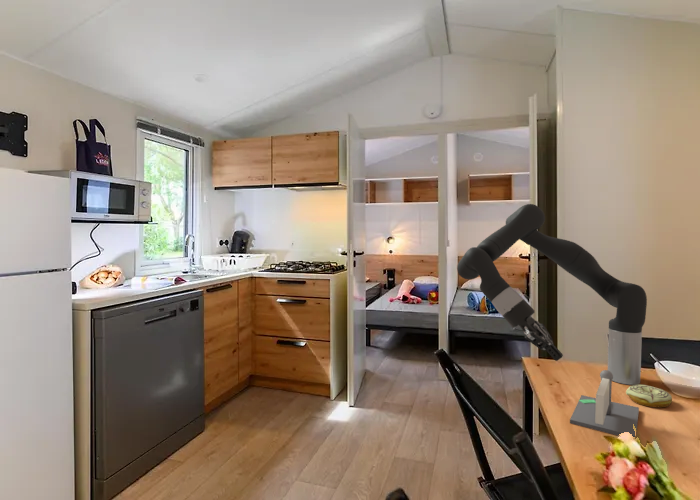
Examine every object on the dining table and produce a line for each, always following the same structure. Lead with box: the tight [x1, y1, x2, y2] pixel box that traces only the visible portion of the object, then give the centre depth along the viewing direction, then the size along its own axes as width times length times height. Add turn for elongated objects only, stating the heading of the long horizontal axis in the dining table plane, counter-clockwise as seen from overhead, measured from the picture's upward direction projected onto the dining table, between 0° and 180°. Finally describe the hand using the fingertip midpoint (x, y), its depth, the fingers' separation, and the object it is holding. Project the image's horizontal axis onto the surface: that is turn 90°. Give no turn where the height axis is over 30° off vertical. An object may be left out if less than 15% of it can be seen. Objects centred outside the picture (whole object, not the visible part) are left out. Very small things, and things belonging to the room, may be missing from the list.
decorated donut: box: [625, 384, 673, 409], centre depth 117 cm, size 10×11×4 cm
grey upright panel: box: [595, 369, 613, 425], centre depth 104 cm, size 24×3×12 cm, turn 142°
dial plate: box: [569, 394, 640, 437], centre depth 107 cm, size 20×14×1 cm
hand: (559, 358), depth 104 cm, fingers closed
